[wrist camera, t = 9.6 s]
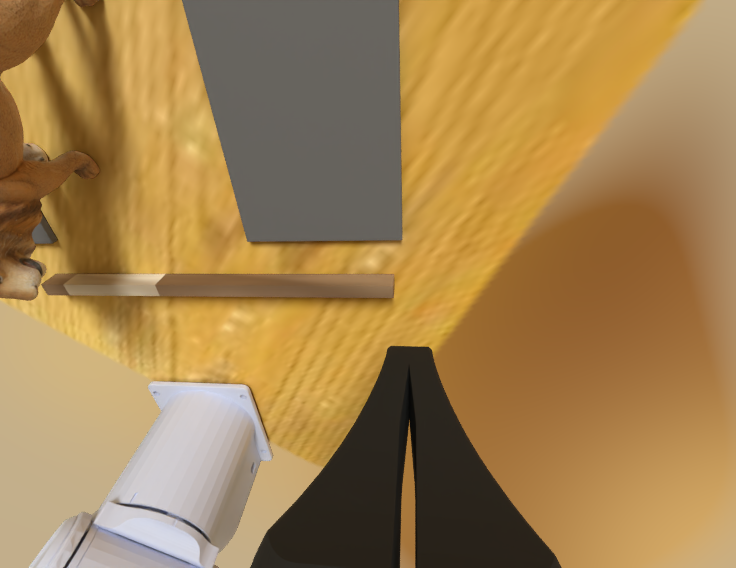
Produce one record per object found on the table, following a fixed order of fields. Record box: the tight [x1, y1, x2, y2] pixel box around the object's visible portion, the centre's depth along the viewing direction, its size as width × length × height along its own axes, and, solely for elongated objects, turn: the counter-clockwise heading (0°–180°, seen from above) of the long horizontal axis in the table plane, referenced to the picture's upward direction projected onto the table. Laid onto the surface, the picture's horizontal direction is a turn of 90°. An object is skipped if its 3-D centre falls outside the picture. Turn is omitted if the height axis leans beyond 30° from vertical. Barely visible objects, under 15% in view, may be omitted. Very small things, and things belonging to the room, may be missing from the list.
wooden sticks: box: [41, 274, 394, 298], centre depth 18 cm, size 18×22×1 cm
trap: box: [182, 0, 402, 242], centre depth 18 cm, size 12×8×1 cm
